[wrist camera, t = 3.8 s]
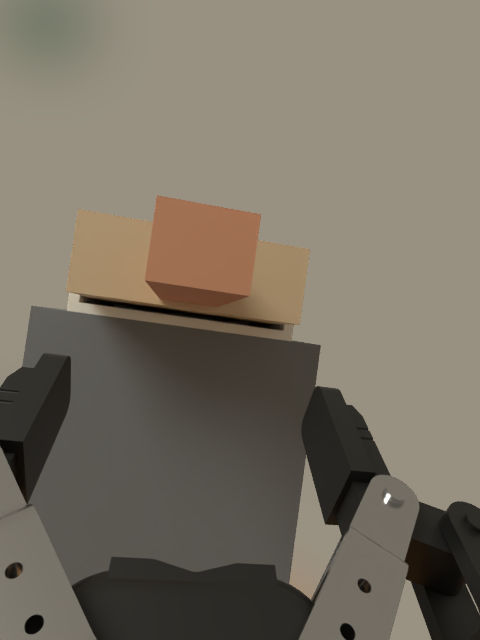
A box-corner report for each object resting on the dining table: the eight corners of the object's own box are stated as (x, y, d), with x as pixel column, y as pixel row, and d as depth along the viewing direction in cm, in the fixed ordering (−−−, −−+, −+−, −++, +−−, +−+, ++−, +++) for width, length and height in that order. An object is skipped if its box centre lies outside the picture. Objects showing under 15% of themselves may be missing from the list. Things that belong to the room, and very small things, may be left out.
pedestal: (-47, 823, 23) (31, 305, 24) (36, 636, 37) (84, 311, 38) (258, 810, 26) (320, 345, 27) (230, 640, 40) (271, 337, 41)
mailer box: (66, 310, 24) (81, 211, 25) (106, 314, 38) (115, 251, 38) (291, 341, 27) (303, 250, 27) (252, 334, 40) (260, 274, 41)
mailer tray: (-32, 265, 11) (-9, 111, 11) (109, 302, 33) (116, 252, 33) (392, 327, 12) (409, 195, 13) (254, 323, 35) (260, 275, 35)
